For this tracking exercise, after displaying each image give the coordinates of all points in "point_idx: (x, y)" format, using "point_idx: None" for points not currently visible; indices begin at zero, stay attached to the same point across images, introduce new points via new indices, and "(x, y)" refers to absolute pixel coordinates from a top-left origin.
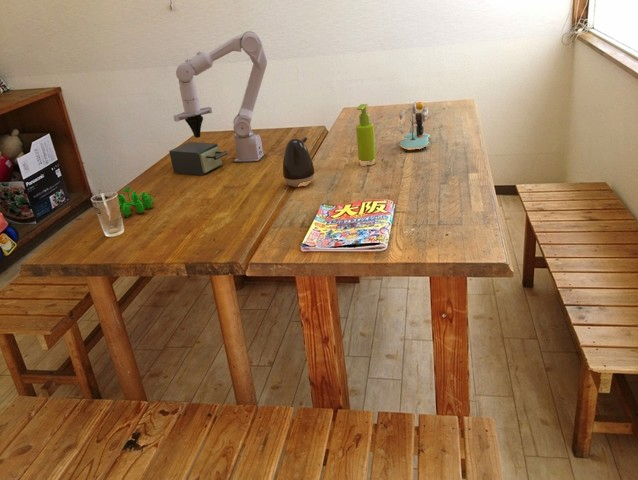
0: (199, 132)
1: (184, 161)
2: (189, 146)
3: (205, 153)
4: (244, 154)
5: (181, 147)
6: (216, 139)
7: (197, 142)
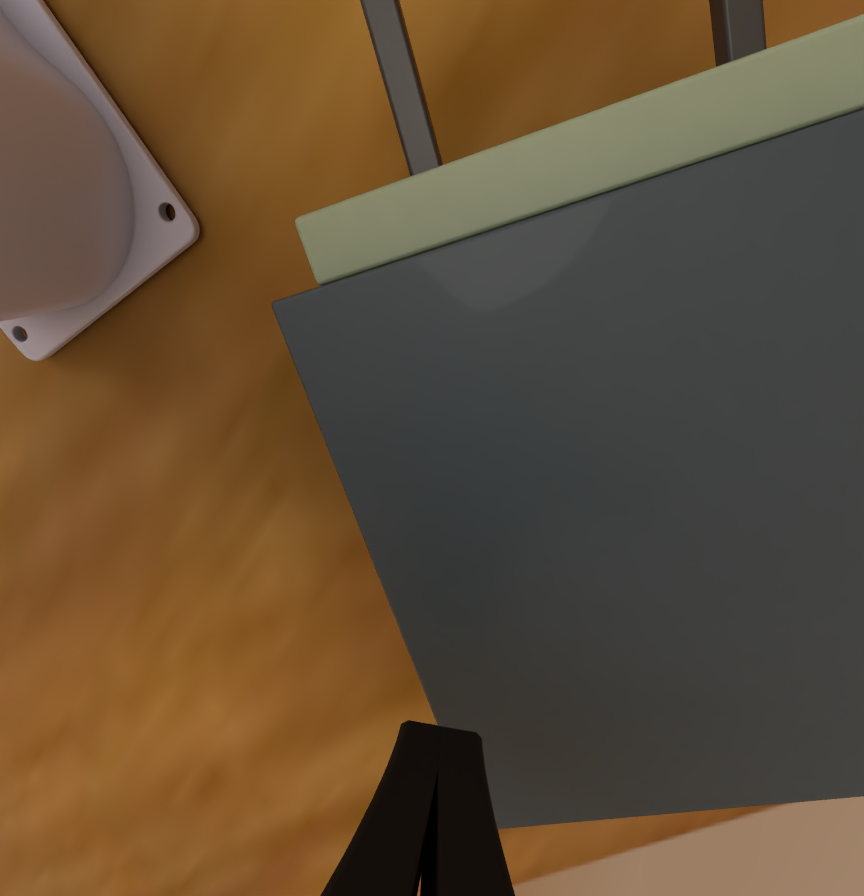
0: (397, 807)
1: None
2: (669, 663)
3: (794, 39)
4: (23, 74)
5: (767, 739)
6: (36, 878)
7: (434, 711)
